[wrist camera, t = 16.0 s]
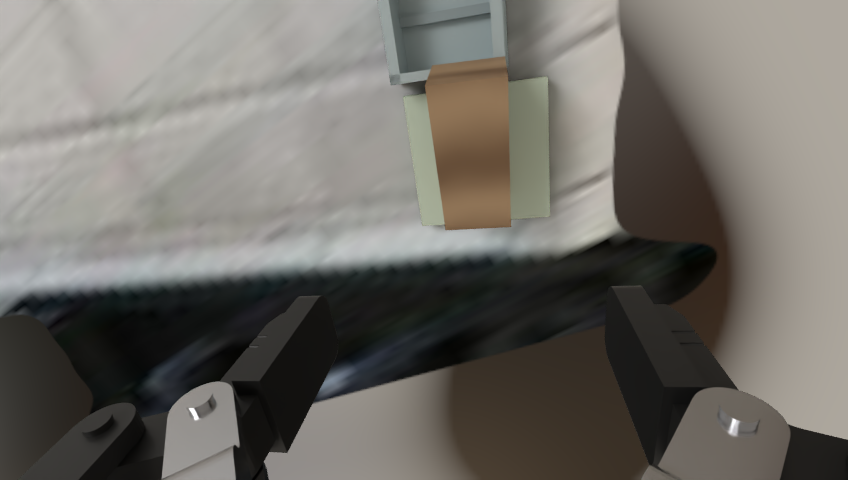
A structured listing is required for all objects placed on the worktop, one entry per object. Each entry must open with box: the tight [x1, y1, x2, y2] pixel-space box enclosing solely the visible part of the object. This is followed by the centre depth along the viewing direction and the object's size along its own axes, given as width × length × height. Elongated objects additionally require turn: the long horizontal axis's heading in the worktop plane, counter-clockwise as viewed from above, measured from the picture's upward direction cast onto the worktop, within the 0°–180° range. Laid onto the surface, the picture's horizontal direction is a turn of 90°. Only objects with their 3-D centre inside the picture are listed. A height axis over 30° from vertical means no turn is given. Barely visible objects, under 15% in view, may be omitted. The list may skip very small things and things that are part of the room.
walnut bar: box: [425, 56, 511, 230], centre depth 26 cm, size 10×4×4 cm, turn 7°
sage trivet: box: [403, 76, 550, 226], centre depth 30 cm, size 10×10×1 cm
